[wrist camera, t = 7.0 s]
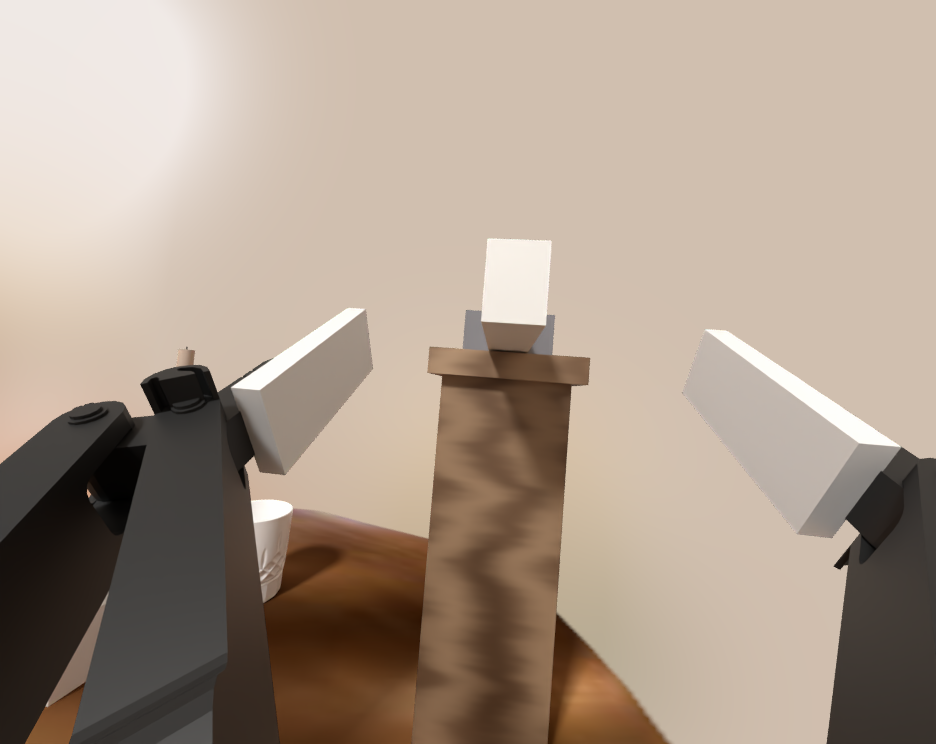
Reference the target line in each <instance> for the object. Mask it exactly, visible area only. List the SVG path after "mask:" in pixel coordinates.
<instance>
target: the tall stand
mask: <svg viewBox="0 0 936 744" xmlns="http://www.w3.org/2000/svg"><path fill="white" fill-rule="evenodd" d="M589 366H590V358H585V357H570V356H556V355H542V354H528V353H513V352H499V351H485V350H470V349H455V348H441V347H430V349H429V361H428V373H431V374H435V375H440V376H442V386H441V398H440V410H439V423H438V434H437V446H436V457H435V469H434V470H435V471H434V481H433V494H432V506H431V517H430V529H429V541H428V552H427V564H426V576H425V588H424V600H423V612H422V624H421V636H420V647H419V659H418V671H417V683H416V695H415V707H414V719H413V731H412V743H411V744H547V743H548V728H549V713H550V698H551V683H552V668H553V653H554V638H555V624H556V609H557V593H558V578H559V564H560V549H561V534H562V518H563V504H564V489H565V474H566V459H567V458H566V457H567V444H568V429H569V414H570V400H571V386H580V385H588V382H589Z"/></svg>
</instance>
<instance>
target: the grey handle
mask: <svg viewBox="0 0 936 744" xmlns="http://www.w3.org/2000/svg"><path fill="white" fill-rule="evenodd" d="M551 245H552V241H543V240H541V241H540V240H516V239H489V238H488V242H487V254H486V266H485V279H484V292H483V303H482V304H483V305H482V311H472V310H466V316H465V328H464V341H463V349H470V350H485V351H499V352H513V353H528V354H542V355H552V349H553V334H554V319H555V316H554V315H547V302H548V288H549V274H550V273H549V272H550V259H551Z"/></svg>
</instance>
